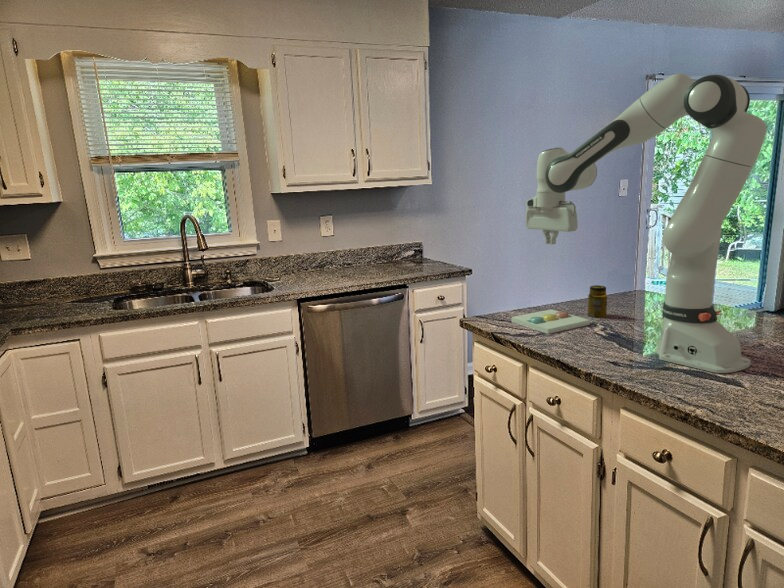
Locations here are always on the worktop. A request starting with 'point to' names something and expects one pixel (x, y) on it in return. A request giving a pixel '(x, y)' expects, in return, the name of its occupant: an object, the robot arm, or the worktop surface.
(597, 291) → the condiment
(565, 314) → the salmon brown ball
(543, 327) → the panel
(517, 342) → the worktop surface
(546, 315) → the button mustard
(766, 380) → the worktop surface
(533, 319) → the button teal
